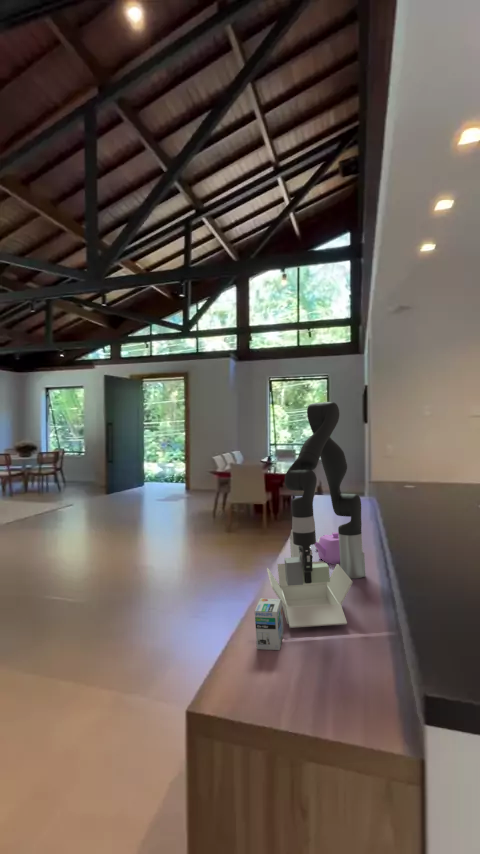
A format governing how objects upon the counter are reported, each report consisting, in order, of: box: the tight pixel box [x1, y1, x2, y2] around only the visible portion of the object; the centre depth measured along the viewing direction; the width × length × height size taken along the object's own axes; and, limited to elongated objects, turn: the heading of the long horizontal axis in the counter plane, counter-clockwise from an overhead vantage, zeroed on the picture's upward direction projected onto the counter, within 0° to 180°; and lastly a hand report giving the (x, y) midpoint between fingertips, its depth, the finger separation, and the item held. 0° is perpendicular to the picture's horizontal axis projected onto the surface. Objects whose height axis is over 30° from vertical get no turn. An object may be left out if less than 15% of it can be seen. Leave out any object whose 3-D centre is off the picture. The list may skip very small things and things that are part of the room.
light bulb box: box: [254, 597, 285, 651], centre depth 135 cm, size 11×7×11 cm, turn 168°
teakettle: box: [313, 531, 340, 565], centre depth 215 cm, size 17×17×12 cm
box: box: [284, 557, 331, 586], centre depth 155 cm, size 14×6×7 cm, turn 91°
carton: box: [266, 560, 354, 629], centre depth 153 cm, size 25×32×12 cm
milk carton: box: [289, 529, 300, 558], centre depth 195 cm, size 7×7×19 cm
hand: (307, 580), depth 155 cm, fingers closed on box, 4 cm apart
